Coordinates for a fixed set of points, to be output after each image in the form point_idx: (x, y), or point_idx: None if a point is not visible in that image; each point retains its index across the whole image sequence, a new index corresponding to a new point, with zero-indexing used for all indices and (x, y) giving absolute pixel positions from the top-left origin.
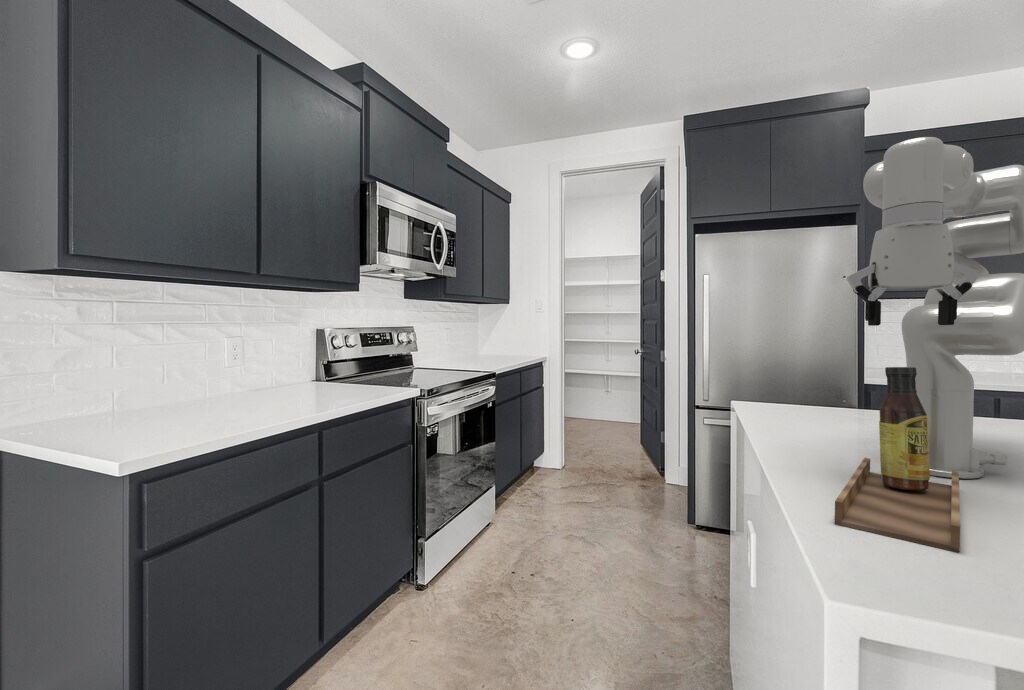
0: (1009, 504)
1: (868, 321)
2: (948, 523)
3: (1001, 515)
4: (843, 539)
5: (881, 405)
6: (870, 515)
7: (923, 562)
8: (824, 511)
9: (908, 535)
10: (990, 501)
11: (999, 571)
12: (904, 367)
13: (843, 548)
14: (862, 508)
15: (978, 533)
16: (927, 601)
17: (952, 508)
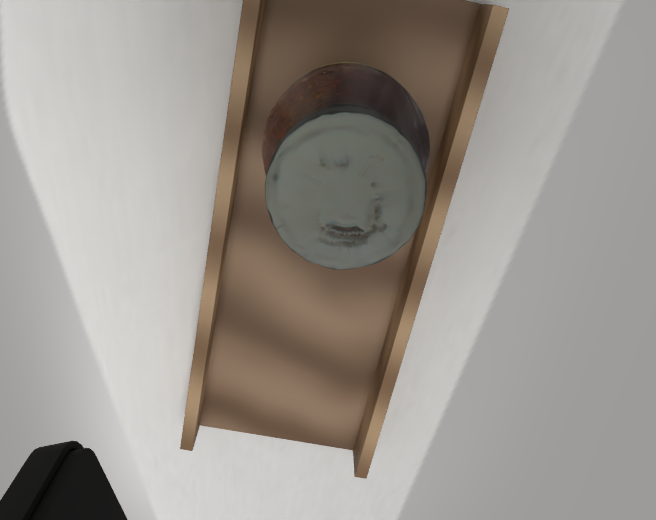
0: (570, 94)
1: (25, 480)
2: (378, 346)
3: (510, 204)
4: (205, 473)
5: (266, 167)
6: (248, 370)
7: (306, 499)
8: (169, 360)
9: (299, 437)
10: (534, 89)
11: (396, 482)
12: (354, 267)
13: (206, 503)
14: (236, 336)
15: (421, 343)
16: None
17: (381, 390)
